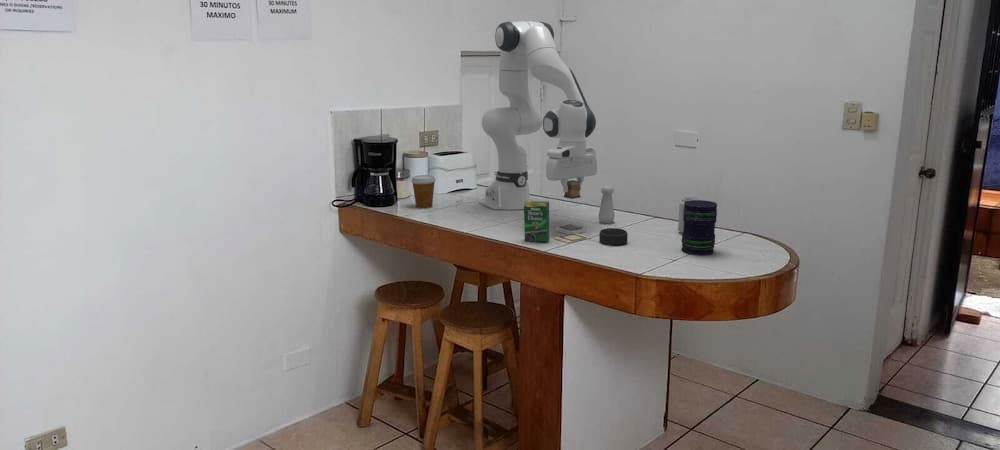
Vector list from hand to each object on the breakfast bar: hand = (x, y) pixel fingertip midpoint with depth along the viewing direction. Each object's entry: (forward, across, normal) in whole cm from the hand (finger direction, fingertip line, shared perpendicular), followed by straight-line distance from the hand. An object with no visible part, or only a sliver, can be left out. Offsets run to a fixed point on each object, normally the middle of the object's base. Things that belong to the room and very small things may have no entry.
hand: (572, 191), depth 239 cm
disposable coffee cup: (+13, +19, -66) cm, 69 cm away
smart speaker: (+15, -1, +18) cm, 24 cm away
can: (+14, -30, +26) cm, 42 cm away
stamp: (+2, 0, 0) cm, 2 cm away
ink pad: (+14, 0, 0) cm, 14 cm away
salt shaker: (+14, -19, -2) cm, 24 cm away
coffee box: (+14, +17, +2) cm, 23 cm away
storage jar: (+15, -14, +42) cm, 46 cm away
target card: (+14, +6, +7) cm, 17 cm away
